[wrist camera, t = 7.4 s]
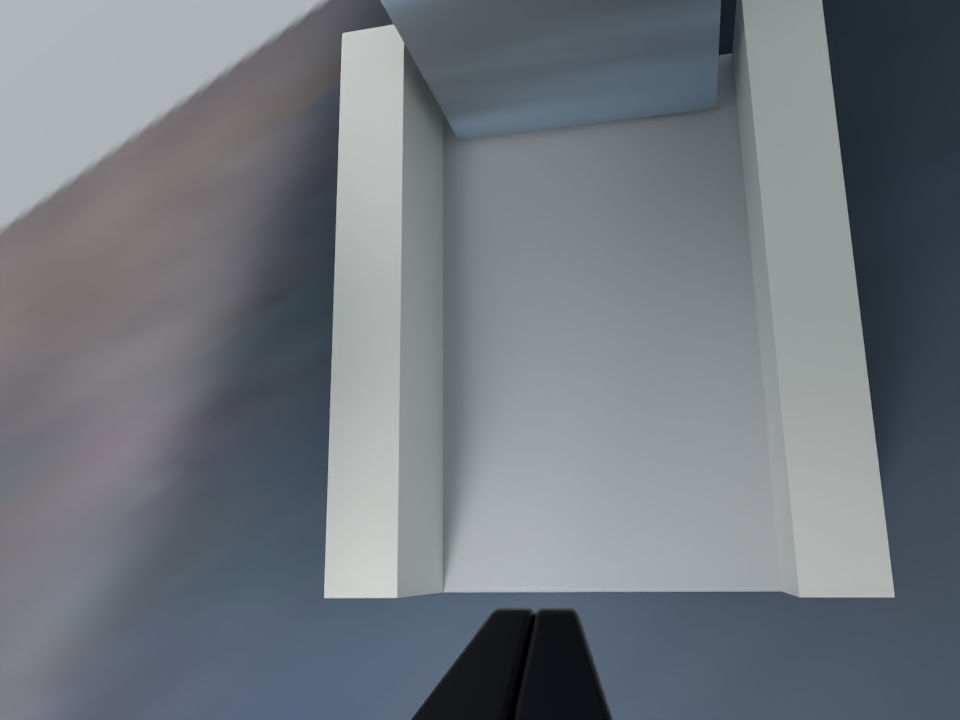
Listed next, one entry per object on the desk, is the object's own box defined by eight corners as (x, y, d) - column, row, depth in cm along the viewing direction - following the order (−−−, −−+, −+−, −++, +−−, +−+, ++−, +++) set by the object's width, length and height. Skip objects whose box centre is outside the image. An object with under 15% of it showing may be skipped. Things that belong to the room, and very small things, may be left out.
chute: (851, 589, 14) (894, 597, 11) (394, 591, 16) (324, 598, 13) (793, 67, 17) (816, -47, 14) (401, 121, 19) (341, 32, 15)
